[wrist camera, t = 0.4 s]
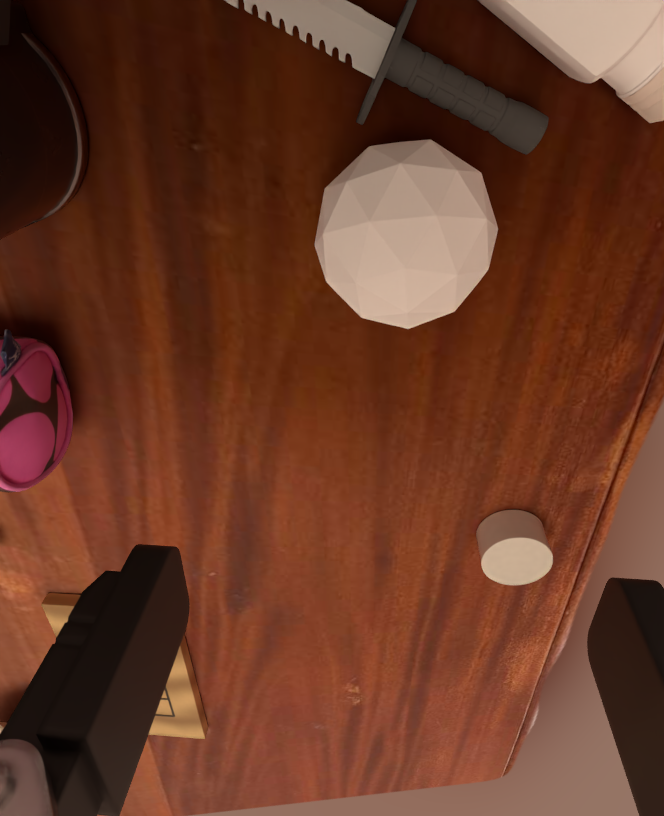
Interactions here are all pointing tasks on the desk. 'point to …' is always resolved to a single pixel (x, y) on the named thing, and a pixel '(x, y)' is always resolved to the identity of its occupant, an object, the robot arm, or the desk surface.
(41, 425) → the pencil case
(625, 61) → the pepper shaker
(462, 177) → the geometric ball
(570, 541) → the desk surface
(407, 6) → the knife
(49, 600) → the game board
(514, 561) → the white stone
